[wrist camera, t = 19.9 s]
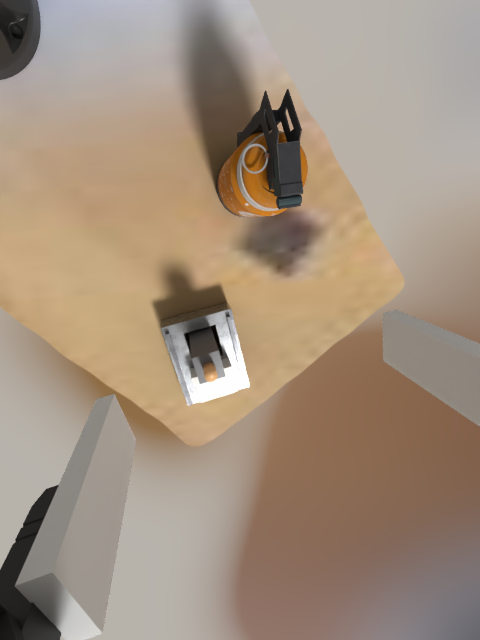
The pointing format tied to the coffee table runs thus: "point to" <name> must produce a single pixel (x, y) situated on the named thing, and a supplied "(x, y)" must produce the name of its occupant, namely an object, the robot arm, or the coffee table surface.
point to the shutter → (215, 384)
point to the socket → (181, 351)
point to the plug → (205, 355)
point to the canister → (265, 165)
